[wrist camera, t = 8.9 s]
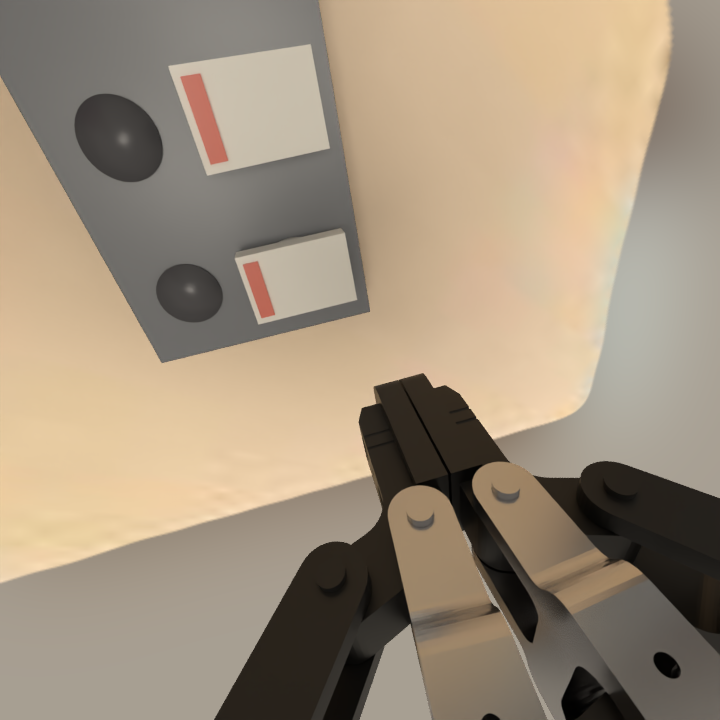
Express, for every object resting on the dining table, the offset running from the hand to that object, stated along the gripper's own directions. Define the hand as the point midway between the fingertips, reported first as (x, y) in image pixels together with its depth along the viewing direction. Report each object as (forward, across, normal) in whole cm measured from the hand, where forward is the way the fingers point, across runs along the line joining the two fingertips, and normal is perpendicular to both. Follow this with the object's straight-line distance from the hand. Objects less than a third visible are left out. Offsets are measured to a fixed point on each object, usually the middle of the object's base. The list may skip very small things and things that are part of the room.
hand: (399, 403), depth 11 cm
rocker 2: (+13, +2, 0) cm, 13 cm away
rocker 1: (+13, +2, -8) cm, 15 cm away
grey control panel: (+18, +5, -8) cm, 20 cm away
